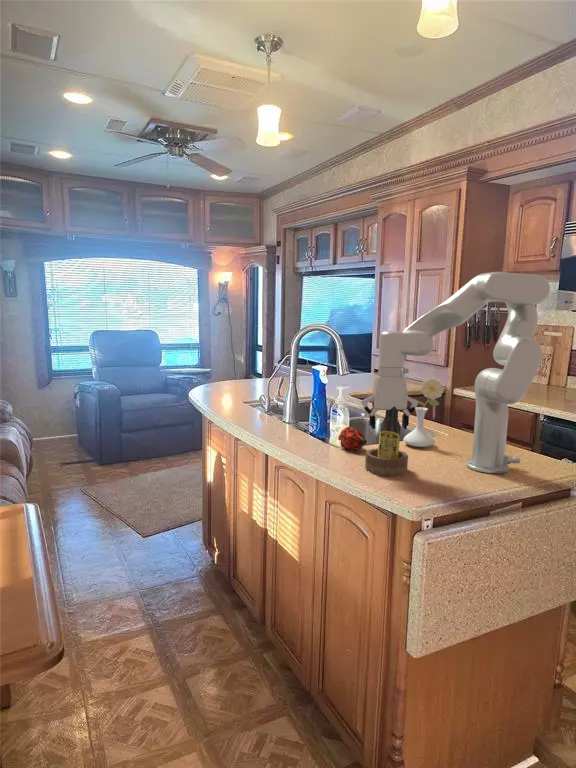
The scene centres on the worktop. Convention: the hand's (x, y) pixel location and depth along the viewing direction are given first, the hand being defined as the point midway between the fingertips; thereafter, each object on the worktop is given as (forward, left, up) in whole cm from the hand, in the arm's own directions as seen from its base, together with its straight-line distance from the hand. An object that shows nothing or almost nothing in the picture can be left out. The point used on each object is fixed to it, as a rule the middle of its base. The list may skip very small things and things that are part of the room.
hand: (388, 428), depth 153 cm
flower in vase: (-19, -29, -13) cm, 37 cm away
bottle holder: (0, 0, -13) cm, 13 cm away
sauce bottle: (0, 0, -13) cm, 13 cm away
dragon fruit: (+7, -23, -13) cm, 28 cm away
